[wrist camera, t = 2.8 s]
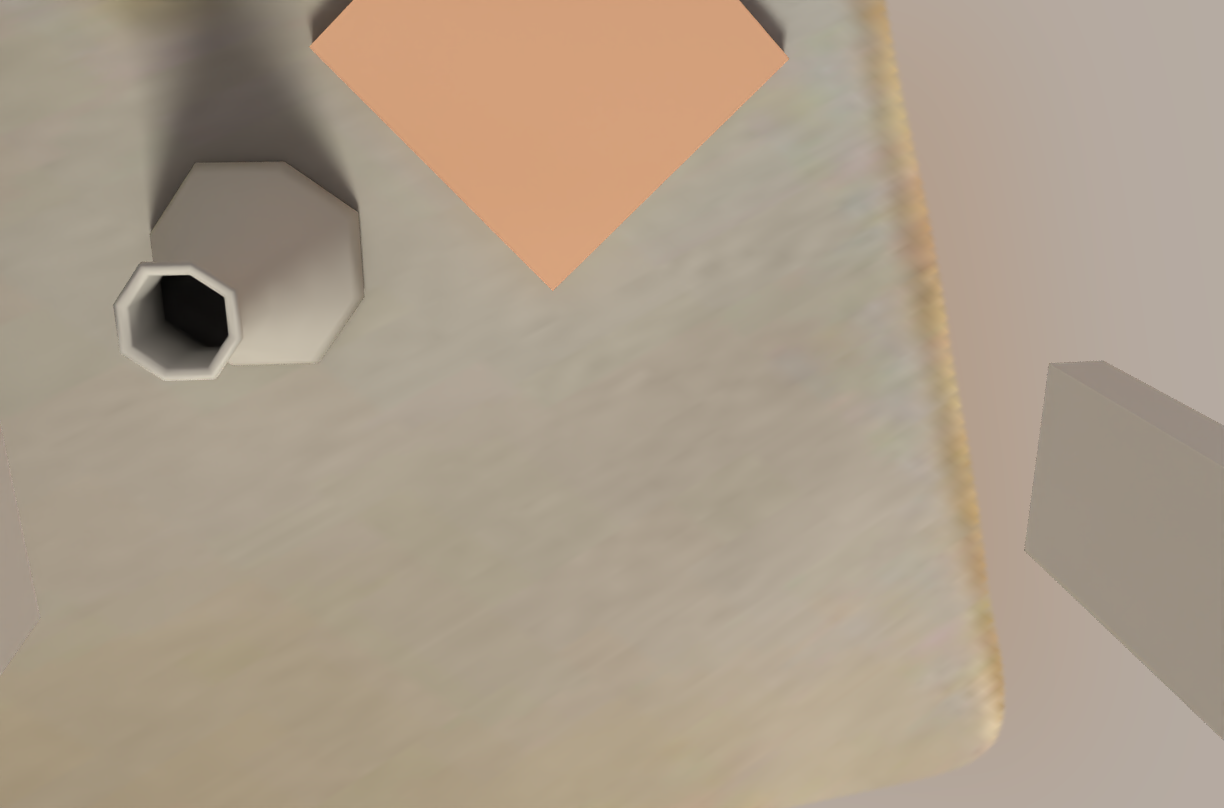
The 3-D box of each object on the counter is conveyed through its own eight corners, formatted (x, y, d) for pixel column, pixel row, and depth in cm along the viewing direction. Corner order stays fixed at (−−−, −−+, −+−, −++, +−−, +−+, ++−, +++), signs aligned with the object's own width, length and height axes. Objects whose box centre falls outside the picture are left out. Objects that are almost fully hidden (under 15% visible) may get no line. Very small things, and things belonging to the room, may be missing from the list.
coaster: (313, 47, 36) (308, 46, 35) (554, -207, 35) (556, -214, 34) (551, 287, 39) (552, 290, 38) (783, 59, 37) (789, 58, 37)
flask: (339, 392, 39) (285, 489, 29) (130, 334, 38) (2, 415, 28) (392, 194, 37) (354, 227, 28) (175, 127, 36) (57, 138, 27)
